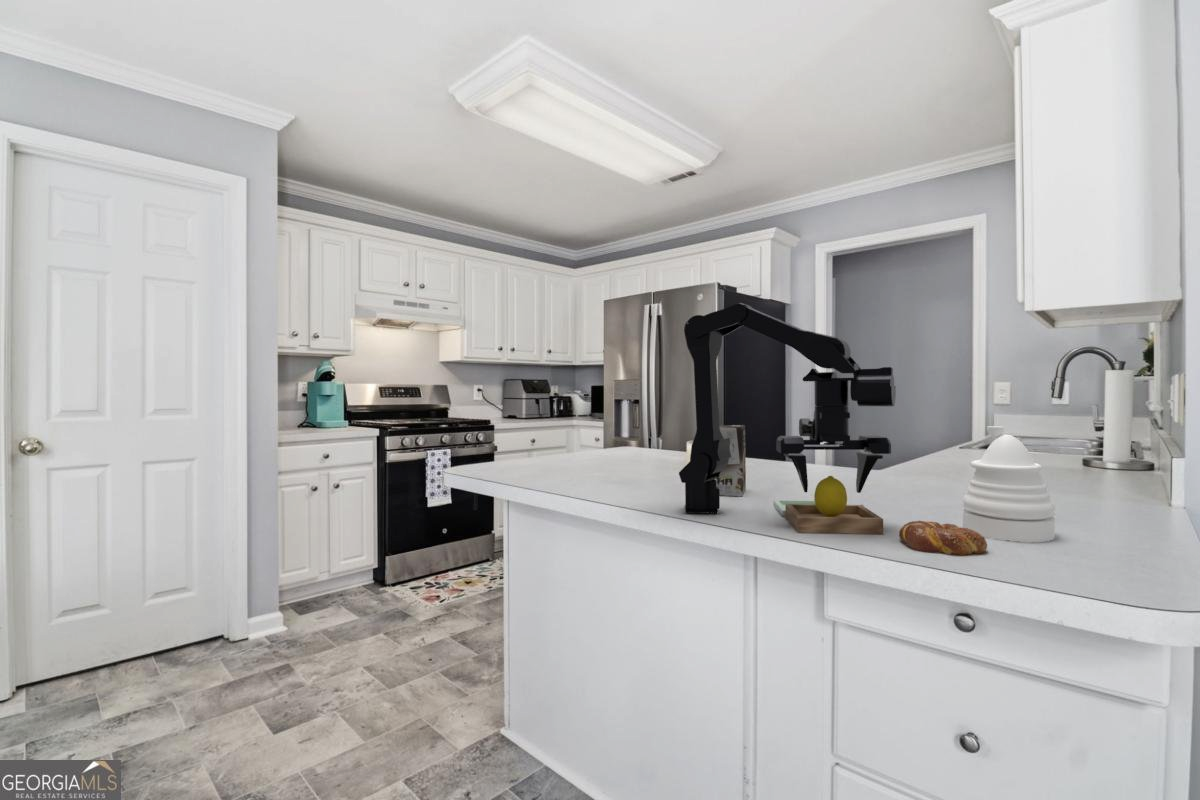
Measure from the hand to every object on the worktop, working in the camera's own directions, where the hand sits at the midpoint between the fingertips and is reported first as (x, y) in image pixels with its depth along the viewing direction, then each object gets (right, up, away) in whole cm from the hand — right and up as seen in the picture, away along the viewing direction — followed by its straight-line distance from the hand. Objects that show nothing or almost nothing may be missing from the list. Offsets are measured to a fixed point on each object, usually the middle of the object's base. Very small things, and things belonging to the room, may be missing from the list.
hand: (831, 492), depth 107 cm
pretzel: (+12, -7, -14) cm, 20 cm away
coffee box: (-11, -6, +34) cm, 36 cm away
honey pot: (+27, -6, -6) cm, 29 cm away
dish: (0, -6, +12) cm, 14 cm away
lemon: (0, -5, 0) cm, 5 cm away
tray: (0, -6, 0) cm, 6 cm away
